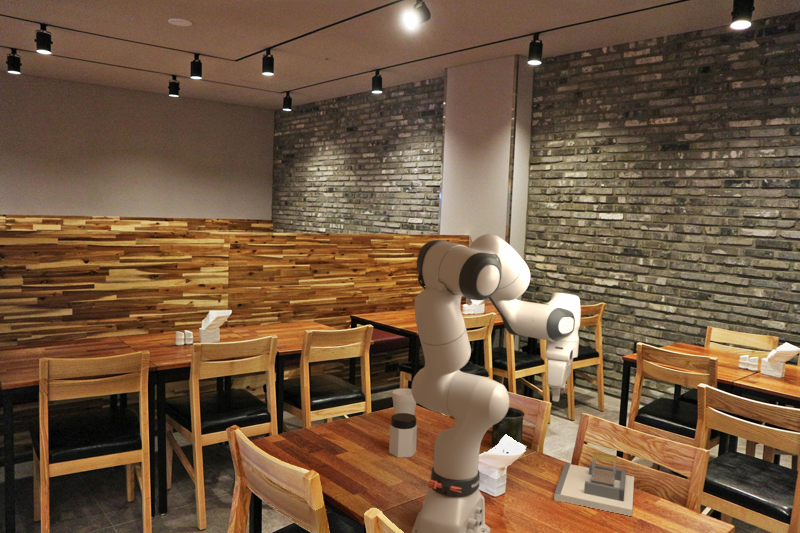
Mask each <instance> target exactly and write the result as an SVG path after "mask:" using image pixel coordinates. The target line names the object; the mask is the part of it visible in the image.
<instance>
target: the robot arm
mask: <svg viewBox="0 0 800 533" xmlns="http://www.w3.org/2000/svg"><path fill="white" fill-rule="evenodd" d="M418 251H419V252H418V254H417V257H416V271H417V281H418V284H419V286H421V288H423V289H422V290H421V291H420V292H419V293H418V294H417V296H416V297H415V299H414V317H415V324H416V325H415V326H416V330H417V333H418V338H419V341H420V344H421V348H422V354H423V356H424V367H422V368H420V369H419V371H418V372H416V374H415V375H414V377H413V379H412V382H411V389H412V395H413V398H414V400H415V402H416V404H417V405H420V406H421V407H424V408H425V409H427V410H429V411H432V412H436V413H439V414H444V415H447V416H450V417H451V416H452V417H453V418H454V425H453V427H449V428H447V429H444V430H443V431H441V432H439V434H438V435H437V436H436V438H435V440H434V450H433V451H434V453H433V454H434V455H433V466H432V468H431V472H430V478H429V480H428V483H427V491H426V494H425V498H424V501H423V504H422V506H421V510H420V511H419V512H417V515H416V519H415V522H414V525H413V527H412V530H411V532H410V533H491V528H490V527H489V526H488V525H487V524H486V522H485V521H486V520H485V518H486V516H485V513H486V512H485V511H486V510H485V507H486V506H485V497H484V495H483V494H482V493H481V491H480V489H479V487H480V482H481V476H480V470H479V461H480V460H479V459H480V451H481V446H482V445H481V443H482V440H483V437H484V436H485V434H486V432H487V431H488V430H489V429H490V428H491V427H492V426H493V425H495V424H497V423H498V422H500V421H501V420H502V419H503V418H504V417H505V415H506V413H507V411H508V408H509V407H510V395H509V392H508V390H507V388H506V386H505V385H504V384H503V383H500V382H498V381H497V380H494V379H492V378H489V377H487V376H481V375H477V374H474V373H467V372H464V371H461V369H462V368H463V367H465V366H466V365H467V364H468V363H469V360H470V358H471V353H472V348H471V344H470V338H469V335H468V331H467V328H466V326H467V325H466V323H465V319H464V316H463V312H462V309H461V302H462V297H465V299H469V300H472V301H485V300H487V299H489V301H490V302H491V303H492V305H493V306H494V308H495V309H496V311H497V312H498V314H499V316H500V317H501V319H502V320H501V321H502V323H503V325H504V327H505V330H506V331H507V332H508V333H509V334H510V335H511V336H519V337H520V336H521V337H528V338H534V339H537V340H542V341H543V340H545V341H546V344H545V356H544V357H545V359H547V361H546V364H547V365H546V381H547V386H548V387H549V388H551V393H552V396H551V398H552V400H551V401H552V402H557V403H558V402H559V401H560V398H561V395H564V394H565V388H566V384H567V380H568V379H569V377H570V375H571V374H572V363H573V362H574V358H578V356H579V343H580V336H579V330H580V327H581V318H582V317H581V314H582V311H581V310H582V309H581V300H580V299H581V298H580V297H579V296H578V295H577V294H575V293H571V292H566V291H554V292H552V295H551V297H550V300H549V301H548V302H546V303H538V302H531V301H525V300H521V299H518V298H519V297H521V296H522V295H523V294H524V293H525V292H526V290H527V289H528V287H529V285H530V283H531V282H530V281H531V272H530V271H531V270H530V268H529V266H528V264H527V263H526V261H525V260H524V259H523V258H522V256H521V255H520V254H519V253H518V252H517V250H516V249H515V248H514V247H513V246H511V244H509V243H508V242H507V241H506V240H504V239H503V238H502V237H500V236H498V235H496V234H492V233H486V234H483V235H480V236H479V237H477V238H475V240H473V241H472V242H471V244H470V246H466V245H463V244H459V243H456V242H450V241H448V240H443V239H436V240H435V239H434V240H430V241H428V242H426V243H424V245H422V247H421V248H420V250H418Z"/></svg>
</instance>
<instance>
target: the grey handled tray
mask: <svg viewBox="0 0 800 533" xmlns="http://www.w3.org/2000/svg"><path fill="white" fill-rule="evenodd" d="M617 459H618V457H617V455H612V454H607V453H601V452H597V451H593V452H592V460H591V462H592V463H591V464H592V478H591V482H592V483H597V484H602V485H607V486H612V487H614V482H615V477H616V468H617V461H618V460H617ZM597 460H598V461H605V462H611V463H612V468H613V471H608V470H603V469H598V468H595V464H596V461H597Z"/></svg>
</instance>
